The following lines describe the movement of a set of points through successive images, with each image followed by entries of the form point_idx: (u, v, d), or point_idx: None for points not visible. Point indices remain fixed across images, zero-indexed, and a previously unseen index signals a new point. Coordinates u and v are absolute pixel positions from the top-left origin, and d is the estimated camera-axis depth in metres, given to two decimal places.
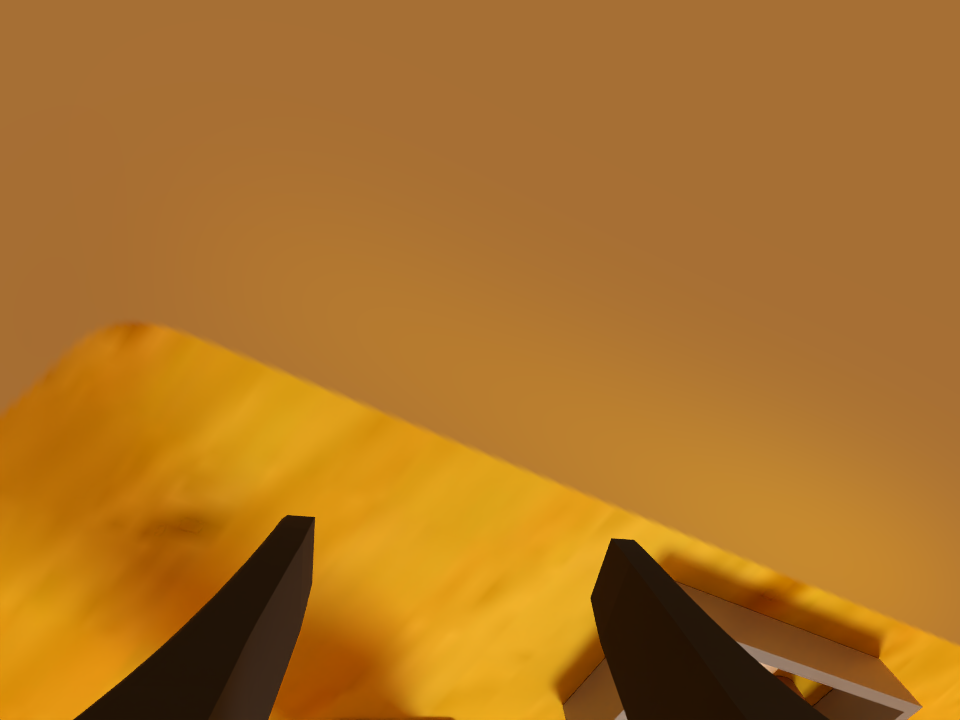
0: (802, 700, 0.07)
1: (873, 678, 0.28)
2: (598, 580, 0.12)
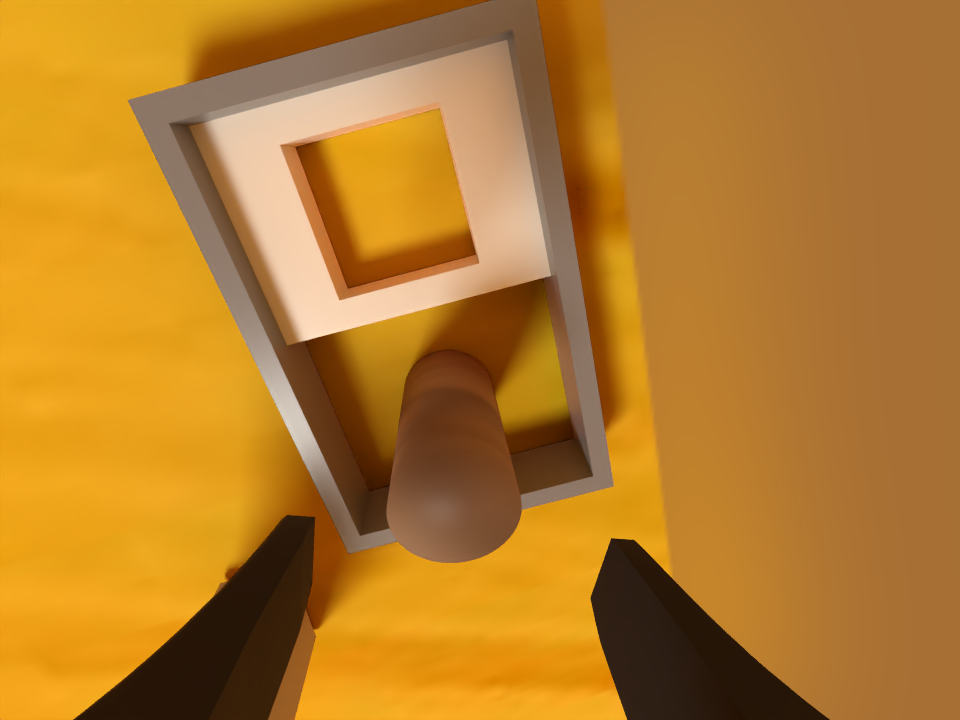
0: (802, 700, 0.07)
1: None
2: (598, 580, 0.12)
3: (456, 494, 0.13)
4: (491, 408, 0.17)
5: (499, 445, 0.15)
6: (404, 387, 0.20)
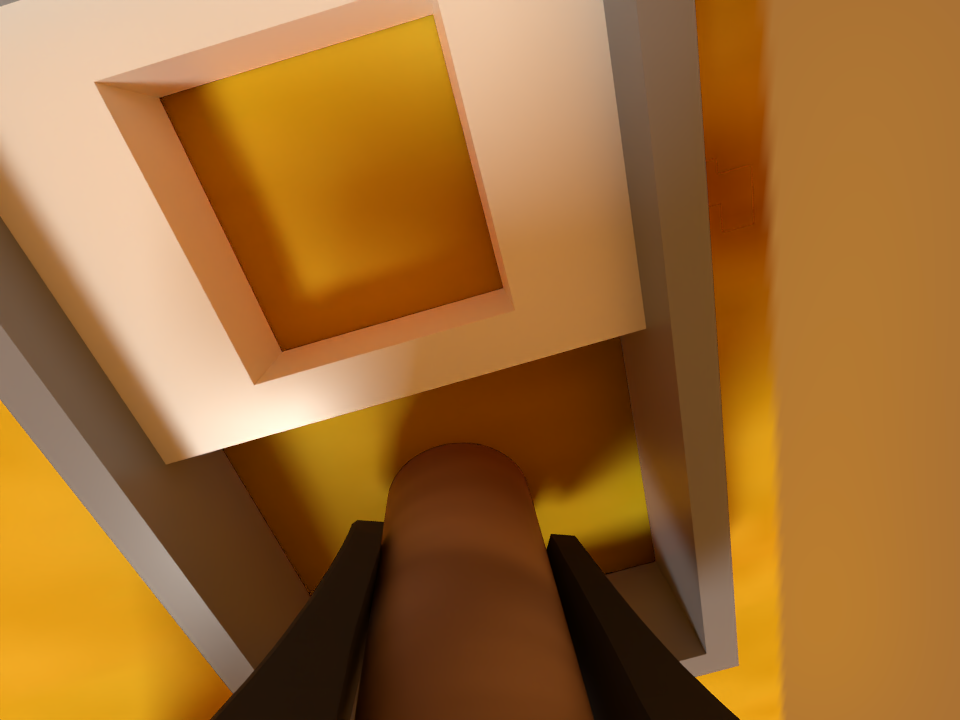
0: (714, 698, 0.07)
1: None
2: None
3: None
4: (544, 590, 0.09)
5: None
6: (386, 506, 0.12)
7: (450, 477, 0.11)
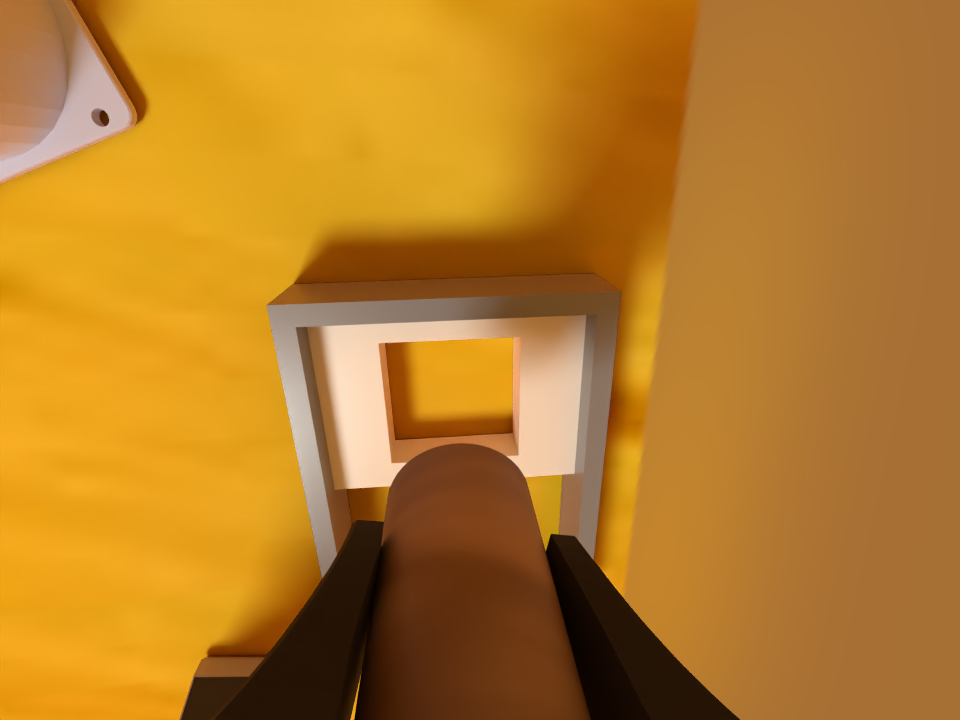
0: (714, 698, 0.07)
1: None
2: None
3: None
4: (542, 591, 0.09)
5: None
6: (386, 506, 0.12)
7: (449, 478, 0.11)
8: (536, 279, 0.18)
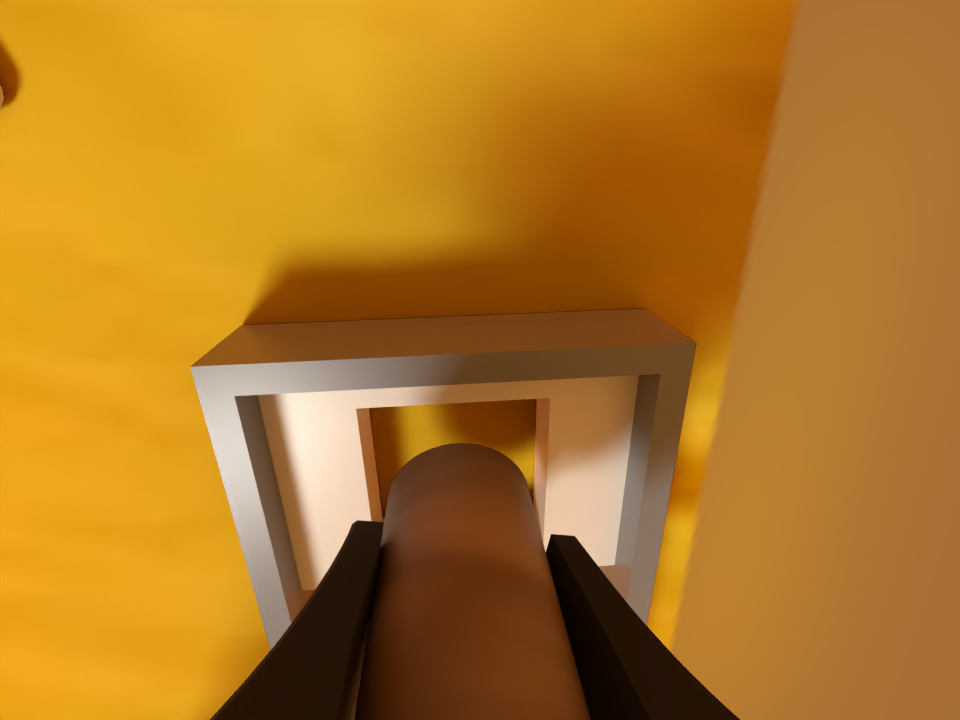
0: (714, 698, 0.07)
1: None
2: None
3: None
4: (542, 591, 0.09)
5: None
6: None
7: (449, 478, 0.11)
8: (570, 319, 0.13)
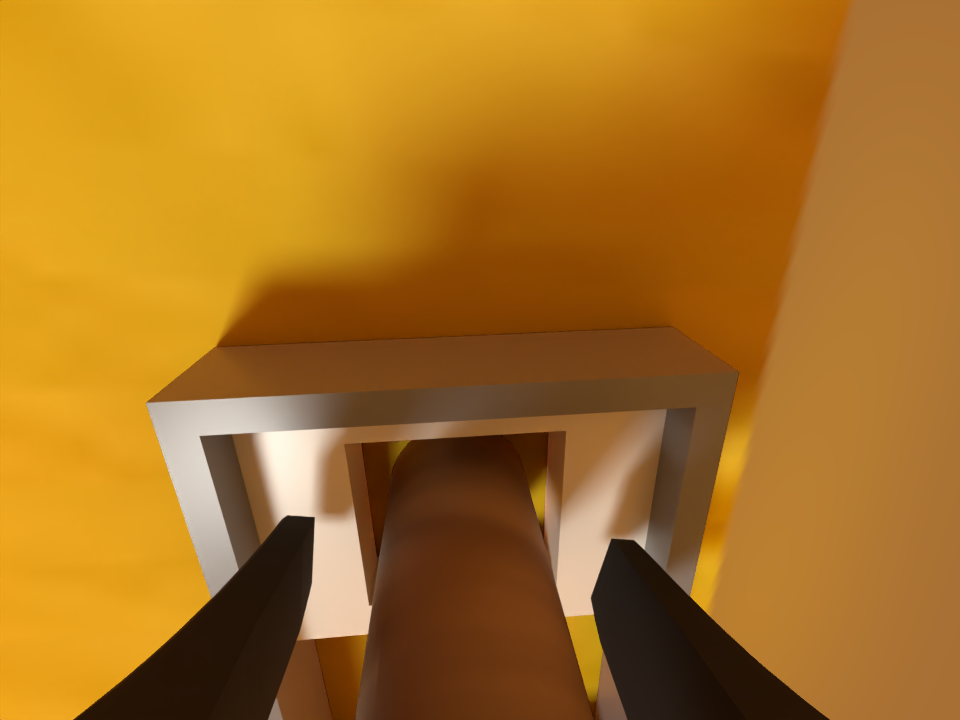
0: (802, 700, 0.07)
1: None
2: (598, 580, 0.12)
3: None
4: (534, 550, 0.10)
5: (561, 664, 0.07)
6: (390, 484, 0.13)
7: (448, 454, 0.12)
8: (589, 340, 0.12)
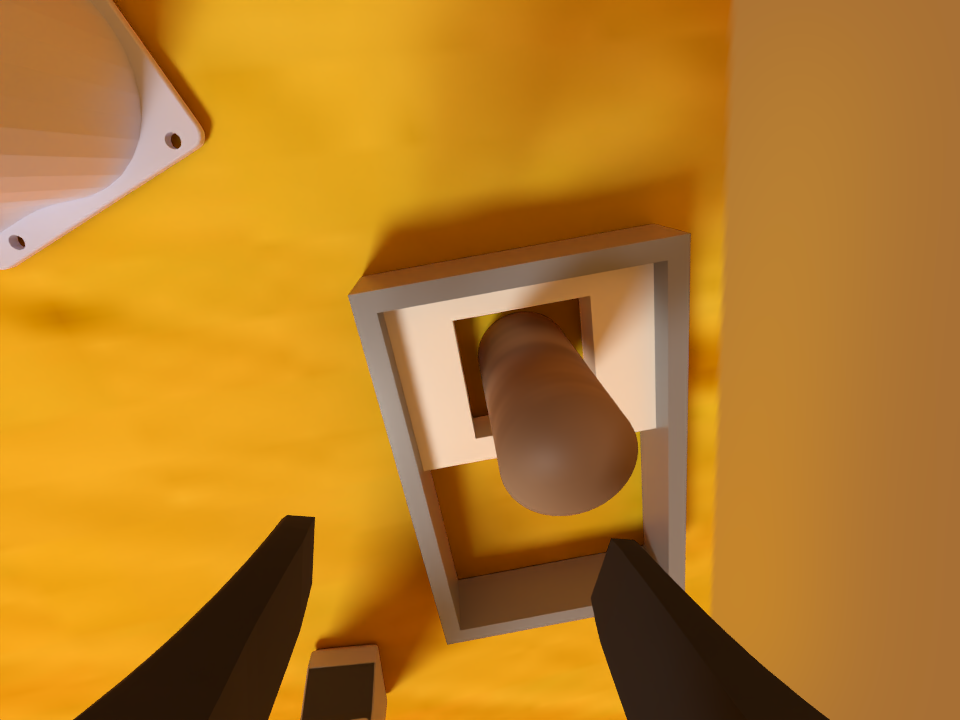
0: (802, 700, 0.07)
1: None
2: (598, 580, 0.12)
3: (568, 441, 0.13)
4: (578, 357, 0.16)
5: (600, 387, 0.14)
6: (478, 357, 0.20)
7: (516, 324, 0.18)
8: (597, 237, 0.18)
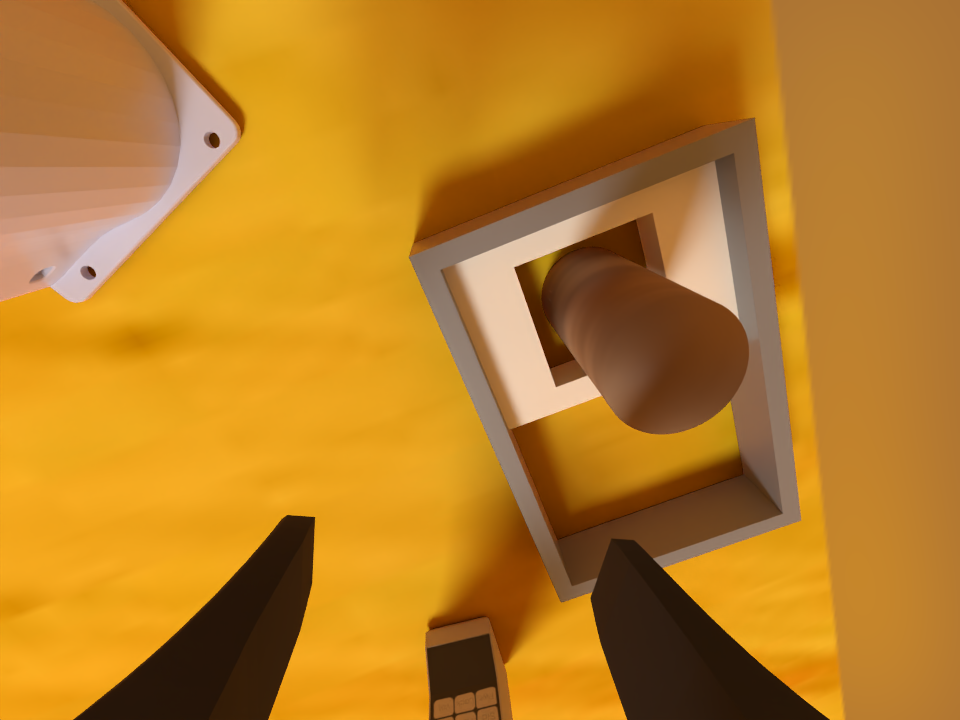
0: (802, 700, 0.07)
1: None
2: (598, 580, 0.12)
3: (673, 349, 0.12)
4: None
5: None
6: (544, 304, 0.19)
7: (579, 259, 0.18)
8: (648, 150, 0.17)
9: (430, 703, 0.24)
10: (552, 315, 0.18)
